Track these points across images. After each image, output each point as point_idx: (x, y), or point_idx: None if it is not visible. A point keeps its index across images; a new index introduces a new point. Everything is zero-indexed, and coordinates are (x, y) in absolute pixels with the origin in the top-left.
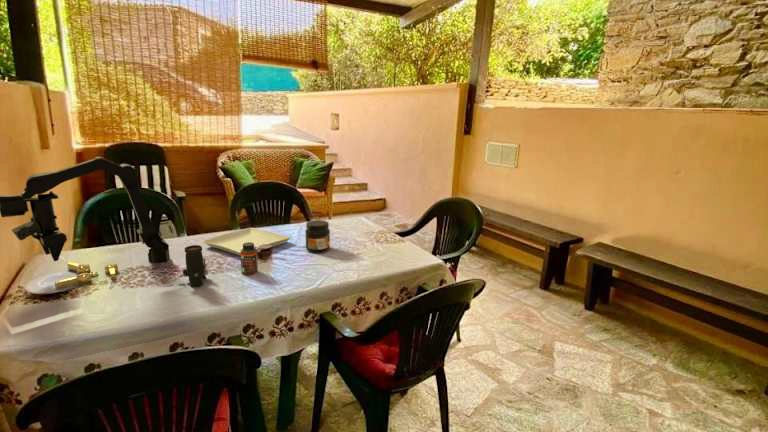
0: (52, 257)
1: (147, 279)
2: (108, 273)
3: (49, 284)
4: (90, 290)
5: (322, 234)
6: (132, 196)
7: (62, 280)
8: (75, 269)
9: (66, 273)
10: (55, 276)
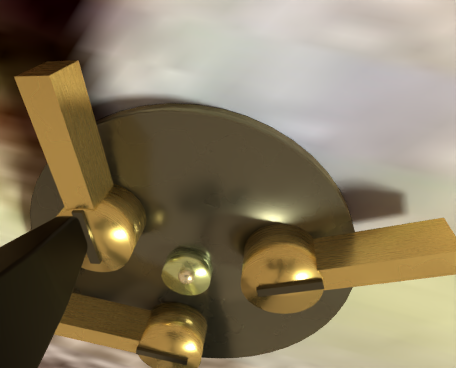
0: (9, 247)
1: (50, 349)
2: (153, 310)
3: (293, 50)
4: (25, 193)
5: None
6: None
7: (57, 128)
8: (347, 242)
9: (429, 187)
10: (440, 123)
